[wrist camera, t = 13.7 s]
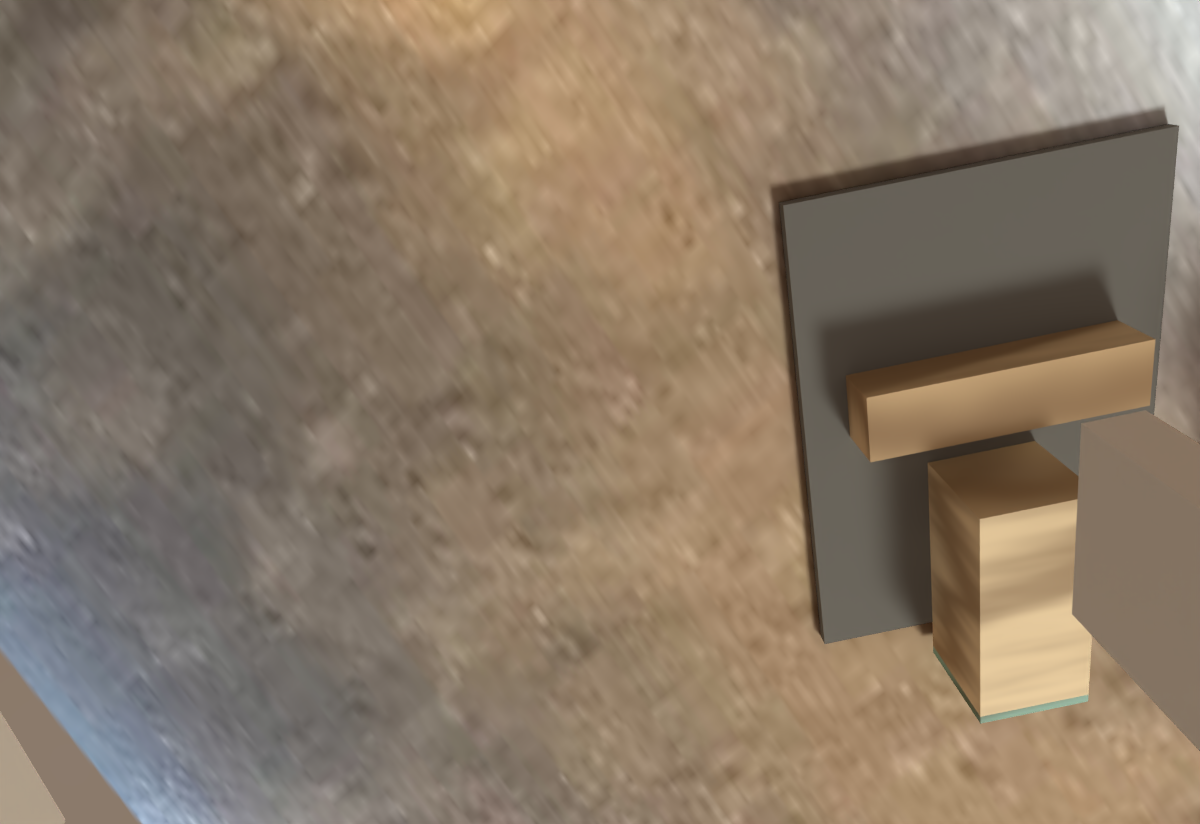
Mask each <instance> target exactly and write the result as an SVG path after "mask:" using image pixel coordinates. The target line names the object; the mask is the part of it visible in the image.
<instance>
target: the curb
mask: <svg viewBox="0 0 1200 824" xmlns="http://www.w3.org/2000/svg"><path fill="white" fill-rule="evenodd" d="M1154 351H1155V339H1154V338H1152V337H1150V336H1148V335H1146V334H1144V333H1142V332H1140V331H1138V330H1136V329H1134V328H1132V327H1130V326H1128V325H1126V324H1124V323H1122V322H1120V321H1118V320H1116V321H1111V322H1106V323H1102V324H1097V325H1092V326H1087V327H1082V328H1077V329H1072V330H1067V331H1062V332H1057V333H1052V334H1047V335H1042V336H1037V337H1032V338H1028V339H1023V340H1018V341H1013V342H1008V343H1003V344H998V345H993V346H988V347H983V348H978V349H973V350H968V351H963V352H958V353H954V354H949V355H944V356H939V357H934V358H929V359H924V360H919V361H914V362H909V363H904V364H899V365H894V366H889V367H885V368H880V369H875V370H870V371H865V372H860V373H855V374H850V375H846V386H847V401H848V415H849V429H850V437H851V439H852V440H853V441H854V442H855V444H856V445H857V446H858V447H859V449H860V450H861V451H862V452H863V454H864V455H865V456H866V457H867V459H868V460H869V461H870V462H875V461H880V460H885V459H890V458H895V457H899V456H904V455H909V454H914V453H919V452H924V451H929V450H934V449H939V448H944V447H949V446H954V445H958V444H963V443H968V442H973V441H978V440H983V439H988V438H993V437H998V436H1003V435H1008V434H1012V433H1017V432H1022V431H1027V430H1032V429H1037V428H1042V427H1047V426H1052V425H1057V424H1062V423H1067V422H1071V421H1076V420H1081V419H1086V418H1091V417H1096V416H1101V415H1106V414H1111V413H1116V412H1121V411H1125V410H1130V409H1135V408H1140V407H1145V406H1150V399H1151V387H1152V375H1153V363H1154Z"/></svg>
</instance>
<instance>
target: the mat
mask: <svg viewBox="0 0 1200 824" xmlns="http://www.w3.org/2000/svg"><path fill="white" fill-rule="evenodd" d="M1178 131H1179V126H1177V125H1171V124H1167V125H1162V126H1157V127H1152V128H1147V129H1142V130H1137V131H1133V132H1128V133H1123V134H1118V135H1113V136H1108V137H1103V138H1098V139H1093V140H1088V141H1083V142H1078V143H1073V144H1068V145H1063V146H1058V147H1053V148H1048V149H1043V150H1038V151H1033V152H1028V153H1023V154H1018V155H1013V156H1008V157H1003V158H998V159H993V160H988V161H983V162H978V163H973V164H968V165H963V166H959V167H954V168H949V169H944V170H939V171H934V172H929V173H924V174H919V175H914V176H909V177H904V178H899V179H894V180H889V181H884V182H879V183H874V184H869V185H864V186H859V187H854V188H849V189H844V190H839V191H834V192H829V193H824V194H819V195H814V196H809V197H804V198H799V199H794V200H789V201H785V202H780V203H779V205H780V216H781V226H782V237H783V247H784V257H785V268H786V278H787V289H788V299H789V309H790V320H791V330H792V340H793V351H794V361H795V372H796V382H797V392H798V403H799V413H800V424H801V434H802V444H803V455H804V465H805V476H806V486H807V496H808V507H809V517H810V527H811V538H812V548H813V559H814V569H815V579H816V590H817V600H818V611H819V621H820V631H821V637H822V639H823V641H824V643H825V644H827V643H832V642H837V641H842V640H847V639H852V638H857V637H861V636H866V635H871V634H876V633H881V632H886V631H891V630H896V629H900V628H905V627H910V626H915V625H920V624H925V623H930V622H933V620H932V587H931V555H930V523H929V490H928V463H929V462H934V461H939V460H944V459H949V458H954V457H959V456H964V455H968V454H973V453H978V452H983V451H988V450H993V449H998V448H1003V447H1008V446H1013V445H1018V444H1022V443H1027V442H1032V441H1036V442H1037V443H1038V444H1039V445H1041V446H1042V447H1043V448H1044V449H1046V450H1047V451H1048V452H1049V453H1050V454H1052V455H1053V456H1054V457H1055V458H1057V459H1058V460H1059V461H1060V462H1061V463H1063V464H1064V465H1065V466H1066V467H1068V468H1069V469H1070V470H1071V471H1073V472H1074V473H1075V474H1076V475H1077V476H1079V460H1080V439H1081V423H1086V422H1091V421H1096V420H1101V419H1106V418H1111V417H1115V416H1120V415H1125V414H1130V413H1135V412H1140V411H1145V410H1146V411H1148V412H1149V413H1151V414H1153V415H1154V408H1155V396H1156V385H1157V373H1158V362H1159V350H1160V339H1161V327H1162V316H1163V304H1164V293H1165V281H1166V269H1167V258H1168V246H1169V235H1170V223H1171V212H1172V200H1173V189H1174V177H1175V166H1176V154H1177V143H1178ZM1116 320H1118V321H1120V322H1122V323H1124V324H1126V325H1128V326H1130V327H1132V328H1134V329H1136V330H1138V331H1140V332H1142V333H1144V334H1146V335H1148V336H1150V337H1152V338H1154V339H1155V351H1154V363H1153V375H1152V387H1151V399H1150V406H1145V407H1140V408H1135V409H1130V410H1125V411H1121V412H1116V413H1111V414H1106V415H1101V416H1096V417H1091V418H1086V419H1081V420H1076V421H1071V422H1067V423H1062V424H1057V425H1052V426H1047V427H1042V428H1037V429H1032V430H1027V431H1022V432H1017V433H1012V434H1008V435H1003V436H998V437H993V438H988V439H983V440H978V441H973V442H968V443H963V444H958V445H954V446H949V447H944V448H939V449H934V450H929V451H924V452H919V453H914V454H909V455H904V456H899V457H895V458H890V459H885V460H880V461H875V462H870V461H869V460H868V459H867V457H866V456H865V455H864V454H863V452H862V451H861V450H860V449H859V447H858V446H857V445H856V444H855V442H854V441H853V440H852V439H851V437H850V429H849V415H848V401H847V386H846V375H850V374H855V373H860V372H865V371H870V370H875V369H880V368H885V367H889V366H894V365H899V364H904V363H909V362H914V361H919V360H924V359H929V358H934V357H939V356H944V355H949V354H954V353H958V352H963V351H968V350H973V349H978V348H983V347H988V346H993V345H998V344H1003V343H1008V342H1013V341H1018V340H1023V339H1028V338H1032V337H1037V336H1042V335H1047V334H1052V333H1057V332H1062V331H1067V330H1072V329H1077V328H1082V327H1087V326H1092V325H1097V324H1102V323H1106V322H1111V321H1116Z"/></svg>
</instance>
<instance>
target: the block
mask: <svg viewBox="0 0 1200 824" xmlns="http://www.w3.org/2000/svg"><path fill="white" fill-rule="evenodd" d="M1078 480H1079V476H1077V475H1076V474H1075V473H1074V472H1073V471H1071V470H1070V469H1069V468H1068V467H1066V466H1065V465H1064V464H1063V463H1061V462H1060V461H1059V460H1058V459H1057V458H1055V457H1054V456H1053V455H1052V454H1050V453H1049V452H1048V451H1047V450H1046V449H1044V448H1043V447H1042V446H1041V445H1039V444H1038V443H1037V442H1036V441H1032V442H1027V443H1022V444H1018V445H1013V446H1008V447H1003V448H998V449H993V450H988V451H983V452H978V453H973V454H968V455H964V456H959V457H954V458H949V459H944V460H939V461H934V462H929V463H928V490H929V523H930V555H931V587H932V620H933V652H934V654H935V655H936V657H937V658H938V660H939V661H940V663H941V664H942V666H943V667H944V669H945V670H946V672H947V673H948V675H949V676H950V678H951V679H952V681H953V683H954V684H955V686H956V687H957V689H958V690H959V692H960V693H961V695H962V696H963V698H964V699H965V701H966V702H967V704H968V705H969V707H970V708H971V710H972V711H973V713H974V714H975V716H976V717H977V719H978V720H979V722H980V723H985V722H990V721H995V720H1000V719H1005V718H1010V717H1014V716H1019V715H1024V714H1029V713H1034V712H1039V711H1044V710H1048V709H1053V708H1058V707H1063V706H1068V705H1073V704H1078V703H1082V702H1087V701H1088V692H1089V676H1090V660H1091V643H1092V635H1091V634H1090V633H1089V632H1088V631H1087V630H1086V629H1085V628H1084V626H1083V625H1082V624H1081V623H1080V622H1079V621H1078V620H1077V619H1076V618H1075V617H1074V616H1073V615H1072V601H1073V581H1074V561H1075V541H1076V520H1077V500H1078Z"/></svg>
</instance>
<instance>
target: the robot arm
mask: <svg viewBox="0 0 1200 824" xmlns="http://www.w3.org/2000/svg"><path fill="white" fill-rule="evenodd" d="M1072 615H1073V616H1074V617H1075V618H1076V619H1077V620H1078V621H1079V622H1080V623H1081V624H1082V625H1083V626H1084V628H1085V629H1086V630H1087V631H1088V632H1089V633H1090V634H1091V635H1092V636H1093V637H1094V638H1095V639H1096V640H1097V642H1098V643H1099V644H1100V645H1101V646H1102V647H1103V648H1104V649H1105V650H1106V651H1107V652H1108V653H1109V654H1110V655H1111V657H1112V658H1113V659H1114V660H1115V661H1116V662H1117V663H1118V664H1119V665H1120V666H1121V667H1122V668H1123V669H1124V670H1125V672H1126V673H1127V674H1128V675H1129V676H1130V677H1131V678H1132V679H1133V680H1134V681H1135V682H1136V683H1137V684H1138V685H1139V687H1140V688H1141V689H1142V690H1143V691H1144V692H1145V693H1146V694H1147V695H1148V696H1149V697H1150V698H1151V699H1152V700H1153V702H1154V703H1155V704H1156V705H1157V706H1158V707H1159V708H1160V709H1161V710H1162V711H1163V712H1164V713H1165V714H1166V716H1167V717H1168V718H1169V719H1170V720H1171V721H1172V722H1173V723H1174V724H1175V725H1176V726H1177V727H1178V728H1179V729H1180V731H1181V732H1182V733H1183V734H1184V735H1185V736H1186V737H1187V738H1188V739H1189V740H1190V741H1191V742H1192V743H1193V744H1194V746H1195V747H1196V748H1197V749H1198V750H1199V751H1200V444H1199V443H1197V442H1196V441H1194V440H1192V439H1191V438H1189V437H1188V436H1186V435H1184V434H1183V433H1181V432H1180V431H1178V430H1176V429H1175V428H1173V427H1172V426H1170V425H1169V424H1167V423H1165V422H1164V421H1162V420H1161V419H1159V418H1157V417H1156V416H1154V415H1153V414H1151V413H1149V412H1148V411H1146V410H1145V411H1140V412H1135V413H1130V414H1125V415H1120V416H1115V417H1111V418H1106V419H1101V420H1096V421H1091V422H1086V423H1081V439H1080V460H1079V480H1078V500H1077V520H1076V541H1075V561H1074V581H1073V601H1072ZM65 821H66V820H65V818H64V817H63V815H62V813H61V812H60V810H59V808H58V807H57V805H56V803H55V802H54V800H53V799H52V797H51V795H50V793H49V792H48V790H47V788H46V787H45V785H44V784H43V782H42V780H41V778H40V777H39V775H38V773H37V772H36V770H35V768H34V767H33V765H32V763H31V762H30V760H29V758H28V757H27V755H26V753H25V752H24V750H23V748H22V747H21V745H20V743H19V742H18V740H17V738H16V737H15V735H14V733H13V732H12V730H11V728H10V727H9V725H8V723H7V722H6V720H5V718H4V717H3V716H2V713H1V712H0V824H64V823H65Z"/></svg>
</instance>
